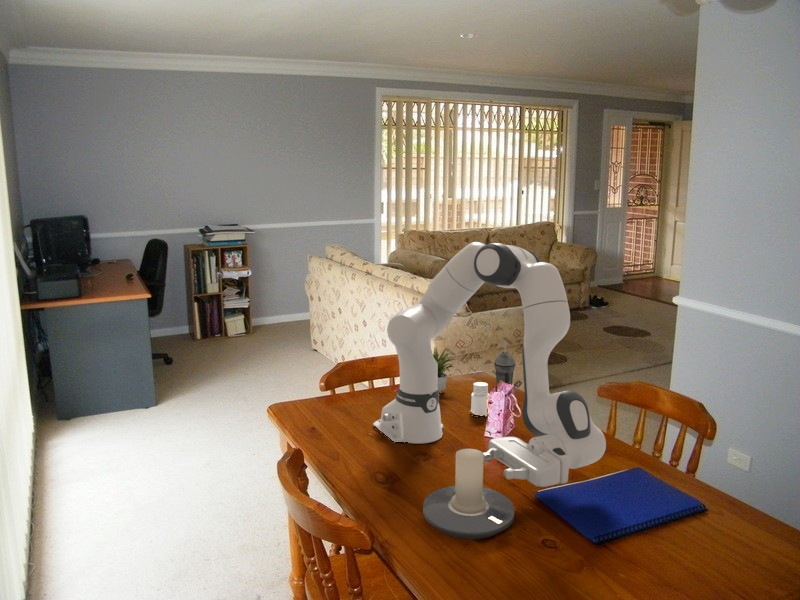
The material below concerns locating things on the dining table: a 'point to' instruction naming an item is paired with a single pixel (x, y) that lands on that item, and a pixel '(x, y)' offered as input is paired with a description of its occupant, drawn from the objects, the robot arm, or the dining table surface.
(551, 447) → the robot arm
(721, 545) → the dining table surface
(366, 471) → the dining table surface
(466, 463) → the white flanged cylinder
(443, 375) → the house plant
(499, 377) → the beverage cup
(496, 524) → the turntable
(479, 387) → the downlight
